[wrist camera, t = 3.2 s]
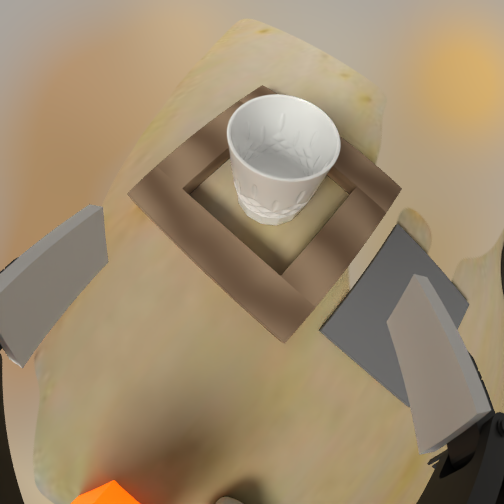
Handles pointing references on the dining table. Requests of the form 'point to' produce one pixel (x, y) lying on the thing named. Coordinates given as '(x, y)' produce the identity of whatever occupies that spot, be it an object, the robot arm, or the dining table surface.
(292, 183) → the white cup
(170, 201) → the puzzle board
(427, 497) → the robot arm
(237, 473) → the dining table surface
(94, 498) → the orange juice
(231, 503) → the dog toy
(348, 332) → the rubber mat
